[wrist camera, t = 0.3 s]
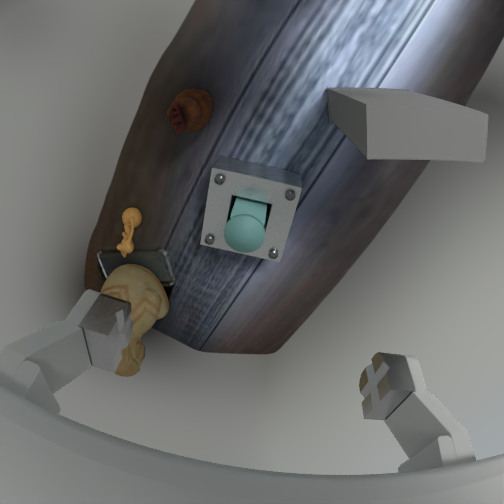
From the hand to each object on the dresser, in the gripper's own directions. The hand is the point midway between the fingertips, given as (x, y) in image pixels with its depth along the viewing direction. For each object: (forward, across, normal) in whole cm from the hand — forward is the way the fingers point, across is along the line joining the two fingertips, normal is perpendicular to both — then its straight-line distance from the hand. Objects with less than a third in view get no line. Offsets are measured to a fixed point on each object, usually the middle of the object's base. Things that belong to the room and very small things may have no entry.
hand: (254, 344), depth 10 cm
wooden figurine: (+47, +13, 0) cm, 48 cm away
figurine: (+47, +22, +23) cm, 57 cm away
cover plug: (+47, +1, +15) cm, 49 cm away
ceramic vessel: (+47, +22, +41) cm, 66 cm away
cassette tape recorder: (+47, -14, -7) cm, 49 cm away
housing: (+47, +1, +15) cm, 49 cm away
